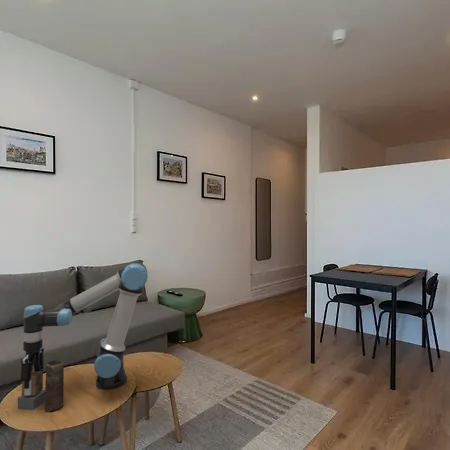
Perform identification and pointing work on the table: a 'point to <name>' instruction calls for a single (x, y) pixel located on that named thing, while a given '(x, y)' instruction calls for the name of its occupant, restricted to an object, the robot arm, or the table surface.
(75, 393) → the table surface
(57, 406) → the candle
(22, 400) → the base block
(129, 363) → the table surface
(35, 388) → the walnut block
